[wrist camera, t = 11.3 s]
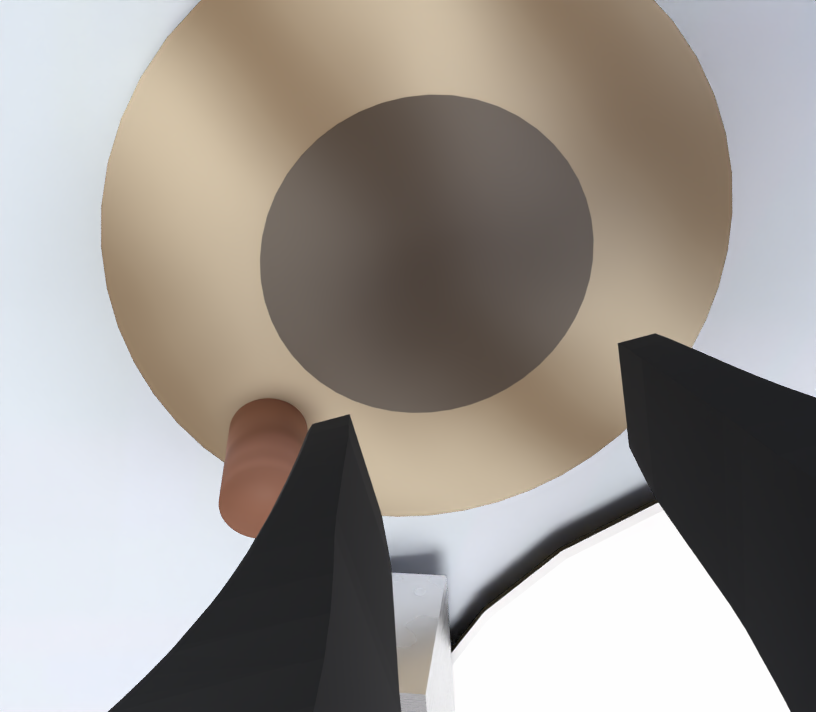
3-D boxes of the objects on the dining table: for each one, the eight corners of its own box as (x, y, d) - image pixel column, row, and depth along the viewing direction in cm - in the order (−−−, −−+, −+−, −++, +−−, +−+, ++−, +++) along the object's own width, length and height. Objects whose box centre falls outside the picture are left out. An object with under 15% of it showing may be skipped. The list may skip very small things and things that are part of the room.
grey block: (425, 694, 20) (438, 853, 22) (445, 575, 24) (455, 722, 26) (256, 680, 21) (289, 836, 23) (304, 568, 25) (327, 711, 27)
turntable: (420, -285, 14) (457, -354, 11) (825, 232, 20) (928, 288, 17) (-22, 283, 18) (-94, 359, 15) (427, 577, 24) (448, 677, 21)
